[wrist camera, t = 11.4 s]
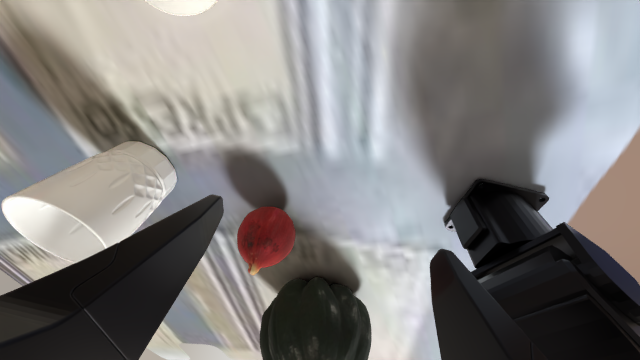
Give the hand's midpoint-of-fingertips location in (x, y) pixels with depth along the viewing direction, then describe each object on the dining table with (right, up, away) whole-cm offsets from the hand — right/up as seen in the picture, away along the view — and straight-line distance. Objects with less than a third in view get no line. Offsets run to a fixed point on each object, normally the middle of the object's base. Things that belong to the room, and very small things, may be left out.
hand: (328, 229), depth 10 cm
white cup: (-19, +4, +17) cm, 26 cm away
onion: (-5, -2, +18) cm, 19 cm away
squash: (0, -15, +27) cm, 31 cm away
